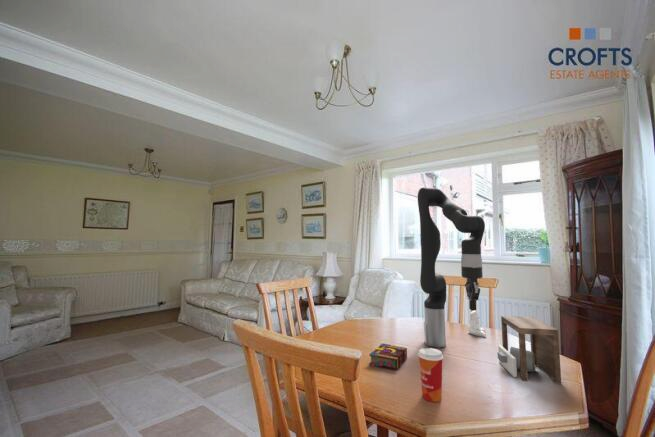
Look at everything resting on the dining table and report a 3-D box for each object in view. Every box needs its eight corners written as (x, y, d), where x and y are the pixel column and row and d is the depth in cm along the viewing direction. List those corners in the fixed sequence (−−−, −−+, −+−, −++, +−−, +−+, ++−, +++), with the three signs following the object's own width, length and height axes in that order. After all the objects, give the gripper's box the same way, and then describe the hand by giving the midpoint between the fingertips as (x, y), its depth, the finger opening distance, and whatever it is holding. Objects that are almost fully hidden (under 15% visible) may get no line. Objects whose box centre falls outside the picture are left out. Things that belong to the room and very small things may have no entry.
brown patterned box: (407, 358, 127) (407, 346, 128) (396, 372, 113) (396, 359, 114) (382, 353, 133) (381, 342, 133) (368, 366, 119) (367, 353, 119)
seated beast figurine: (486, 337, 153) (485, 313, 154) (467, 335, 157) (466, 312, 158) (485, 332, 162) (484, 309, 163) (467, 330, 166) (467, 308, 167)
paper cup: (415, 392, 98) (414, 347, 99) (438, 391, 99) (436, 346, 100) (425, 405, 90) (423, 356, 91) (449, 403, 91) (448, 355, 92)
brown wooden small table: (522, 380, 106) (520, 328, 107) (503, 360, 123) (501, 315, 125) (561, 383, 103) (558, 329, 105) (535, 363, 121) (533, 317, 123)
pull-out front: (507, 376, 109) (506, 357, 109) (493, 361, 122) (492, 345, 123) (517, 377, 108) (516, 358, 108) (502, 361, 122) (501, 345, 122)
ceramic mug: (536, 375, 110) (534, 353, 110) (509, 370, 114) (508, 349, 115) (535, 366, 118) (534, 346, 119) (511, 361, 123) (510, 342, 124)
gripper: (457, 264, 127) (458, 306, 126) (465, 266, 114) (467, 313, 113) (476, 264, 126) (478, 306, 124) (487, 267, 113) (488, 314, 112)
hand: (472, 309), depth 119 cm, fingers closed
